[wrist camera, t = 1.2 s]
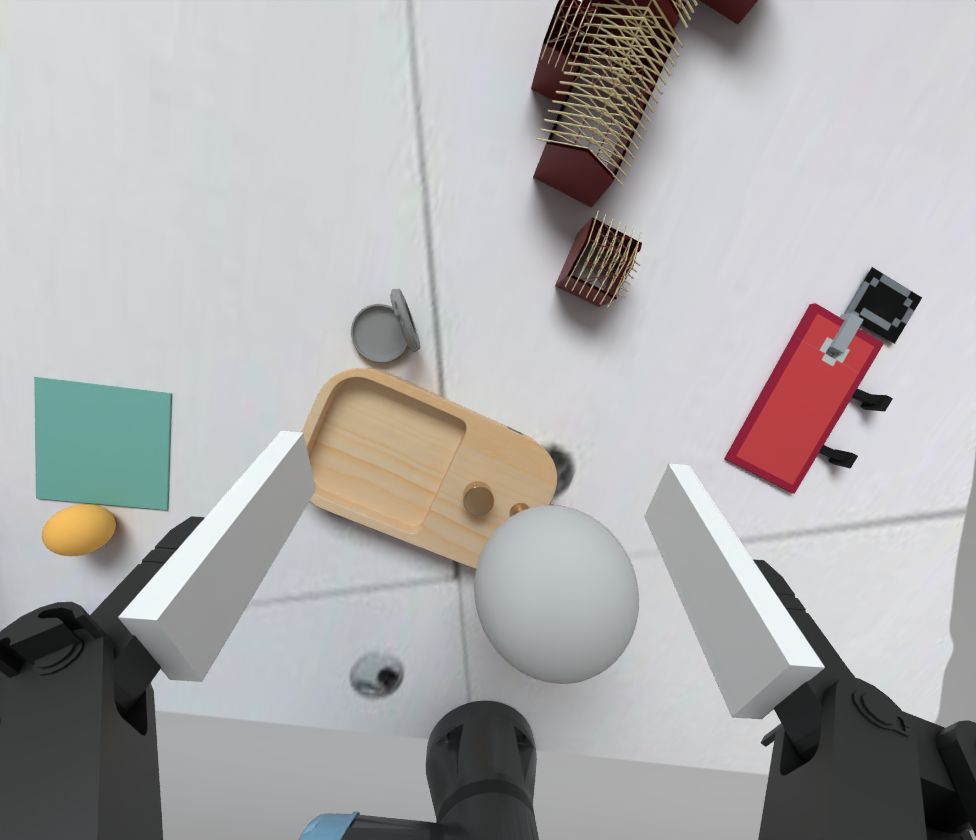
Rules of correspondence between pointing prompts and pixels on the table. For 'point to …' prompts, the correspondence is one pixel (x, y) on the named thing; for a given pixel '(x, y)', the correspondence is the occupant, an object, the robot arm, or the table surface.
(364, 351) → the pocket watch
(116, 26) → the table surface
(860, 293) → the red board with handle
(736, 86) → the table surface
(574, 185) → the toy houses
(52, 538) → the orange ball
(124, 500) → the green mark
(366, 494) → the lamp
